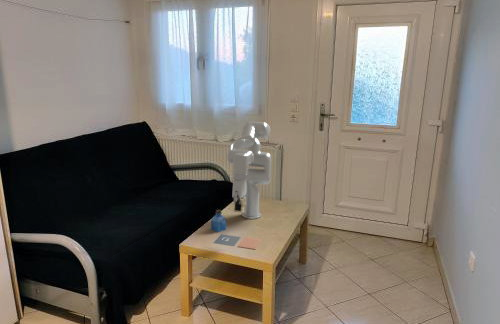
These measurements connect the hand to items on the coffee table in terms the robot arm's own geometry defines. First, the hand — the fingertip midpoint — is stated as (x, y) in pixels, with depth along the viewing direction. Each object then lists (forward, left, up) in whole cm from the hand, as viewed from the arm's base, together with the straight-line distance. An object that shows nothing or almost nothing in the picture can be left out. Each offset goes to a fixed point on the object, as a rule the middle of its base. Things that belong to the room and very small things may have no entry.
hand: (239, 208), depth 193 cm
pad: (0, +6, -20) cm, 20 cm away
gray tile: (0, -7, -20) cm, 21 cm away
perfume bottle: (-12, -17, -20) cm, 29 cm away
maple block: (0, 0, -1) cm, 1 cm away
